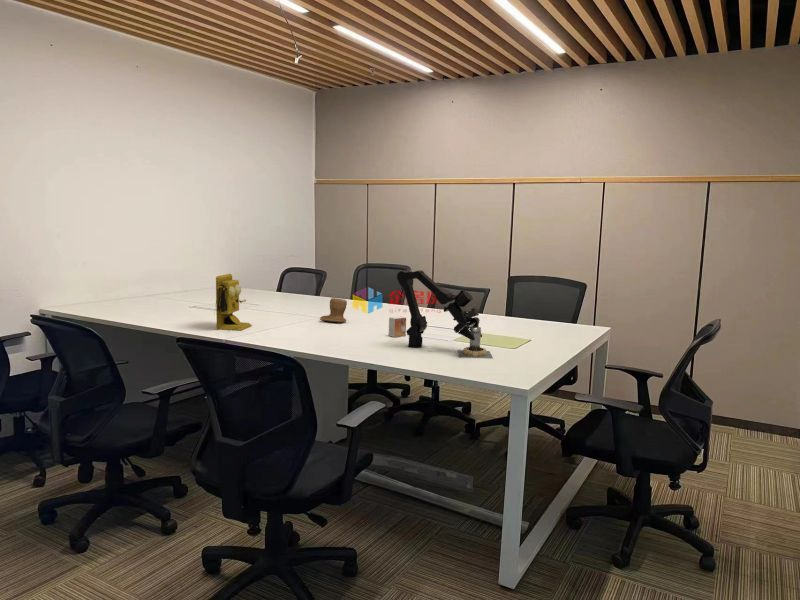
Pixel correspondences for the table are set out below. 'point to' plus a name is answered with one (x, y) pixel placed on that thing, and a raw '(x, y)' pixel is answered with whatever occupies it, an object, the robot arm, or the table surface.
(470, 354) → the ring collar
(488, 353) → the mat
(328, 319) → the brown suede boot shape
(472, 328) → the grey tall cylinder
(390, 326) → the small box
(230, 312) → the vintage telephone
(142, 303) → the table surface
